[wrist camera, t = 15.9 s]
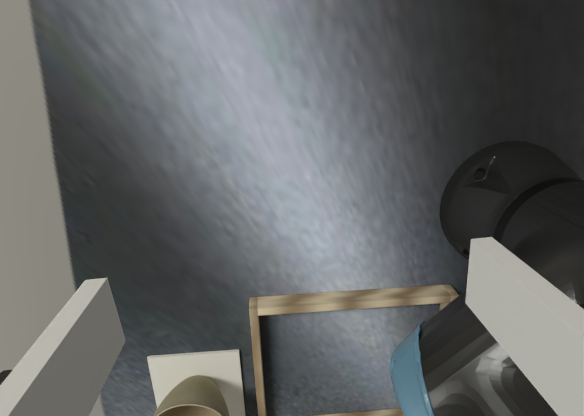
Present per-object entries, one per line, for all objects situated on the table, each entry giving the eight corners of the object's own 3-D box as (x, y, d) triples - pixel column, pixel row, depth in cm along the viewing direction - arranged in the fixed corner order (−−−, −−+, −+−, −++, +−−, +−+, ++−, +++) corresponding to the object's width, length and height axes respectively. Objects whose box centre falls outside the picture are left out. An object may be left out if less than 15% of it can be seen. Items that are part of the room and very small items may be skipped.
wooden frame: (449, 284, 51) (458, 295, 49) (433, 410, 59) (440, 425, 57) (249, 297, 50) (249, 309, 48) (260, 425, 58) (260, 440, 55)
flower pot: (167, 419, 56) (154, 468, 49) (155, 363, 52) (140, 408, 45) (238, 413, 56) (234, 461, 49) (231, 357, 53) (227, 401, 46)
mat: (239, 349, 53) (238, 351, 52) (245, 415, 57) (245, 418, 57) (147, 355, 52) (147, 358, 52) (161, 422, 56) (160, 425, 56)
